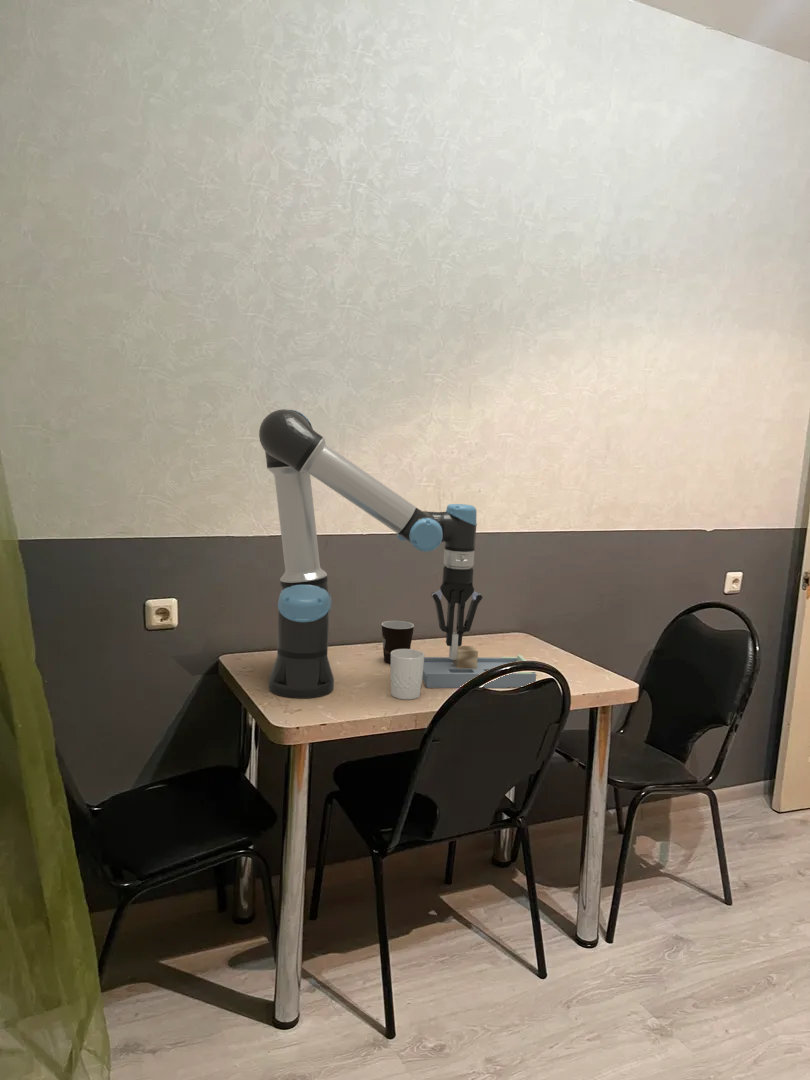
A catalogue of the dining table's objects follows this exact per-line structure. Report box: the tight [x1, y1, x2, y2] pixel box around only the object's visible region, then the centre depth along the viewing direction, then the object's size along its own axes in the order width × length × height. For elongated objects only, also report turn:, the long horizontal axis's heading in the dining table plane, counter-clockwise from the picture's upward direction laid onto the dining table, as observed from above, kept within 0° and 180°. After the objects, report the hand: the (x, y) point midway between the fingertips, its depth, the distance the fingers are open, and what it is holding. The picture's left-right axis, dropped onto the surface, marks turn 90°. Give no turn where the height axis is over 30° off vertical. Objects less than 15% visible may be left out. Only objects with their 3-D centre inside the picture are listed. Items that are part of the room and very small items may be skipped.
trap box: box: [422, 654, 537, 689], centre depth 203 cm, size 27×14×4 cm, turn 99°
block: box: [453, 645, 479, 669], centre depth 205 cm, size 5×5×4 cm
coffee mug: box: [381, 620, 415, 665], centre depth 215 cm, size 12×9×10 cm
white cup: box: [390, 648, 426, 700], centre depth 188 cm, size 8×8×10 cm
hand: (452, 658), depth 205 cm, fingers closed
